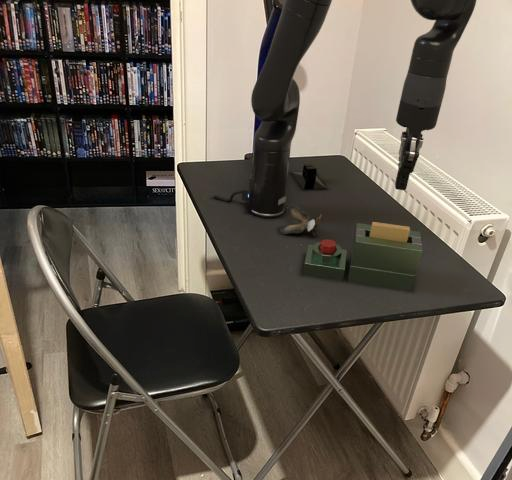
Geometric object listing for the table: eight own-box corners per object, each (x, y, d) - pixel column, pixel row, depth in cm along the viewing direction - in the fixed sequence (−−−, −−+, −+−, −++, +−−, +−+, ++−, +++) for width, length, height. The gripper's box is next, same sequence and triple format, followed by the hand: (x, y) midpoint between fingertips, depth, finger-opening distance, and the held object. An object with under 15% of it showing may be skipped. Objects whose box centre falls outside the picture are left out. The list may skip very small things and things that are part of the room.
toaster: (347, 281, 126) (355, 241, 120) (349, 261, 133) (356, 222, 127) (411, 291, 125) (422, 251, 119) (409, 270, 132) (420, 231, 126)
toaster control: (302, 274, 127) (305, 255, 124) (306, 255, 134) (309, 236, 131) (342, 281, 126) (346, 261, 123) (344, 261, 133) (348, 242, 130)
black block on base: (291, 173, 174) (292, 158, 171) (313, 173, 175) (315, 158, 172) (303, 190, 164) (305, 174, 161) (327, 189, 166) (329, 173, 163)
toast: (364, 259, 126) (372, 224, 121) (364, 256, 127) (372, 221, 122) (401, 265, 126) (410, 230, 120) (400, 261, 127) (409, 226, 122)
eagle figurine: (319, 222, 146) (285, 211, 146) (325, 208, 139) (290, 196, 139) (310, 248, 143) (276, 236, 143) (316, 234, 136) (280, 222, 136)
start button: (318, 252, 126) (319, 245, 125) (319, 245, 129) (321, 238, 128) (334, 255, 126) (336, 248, 125) (335, 247, 128) (336, 240, 127)
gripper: (400, 87, 111) (381, 173, 122) (402, 106, 100) (381, 198, 111) (439, 92, 110) (417, 178, 121) (445, 111, 100) (420, 204, 110)
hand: (400, 187), depth 116 cm, fingers closed
